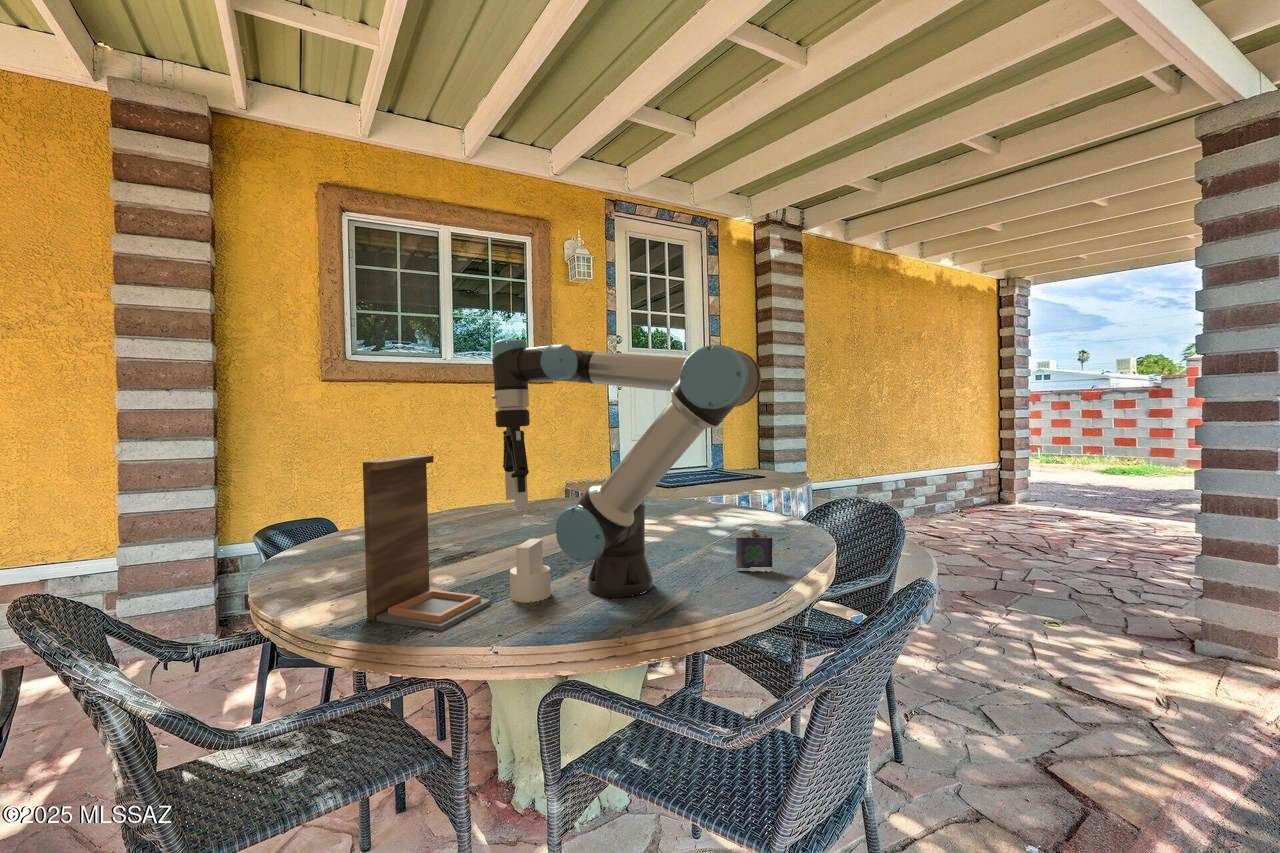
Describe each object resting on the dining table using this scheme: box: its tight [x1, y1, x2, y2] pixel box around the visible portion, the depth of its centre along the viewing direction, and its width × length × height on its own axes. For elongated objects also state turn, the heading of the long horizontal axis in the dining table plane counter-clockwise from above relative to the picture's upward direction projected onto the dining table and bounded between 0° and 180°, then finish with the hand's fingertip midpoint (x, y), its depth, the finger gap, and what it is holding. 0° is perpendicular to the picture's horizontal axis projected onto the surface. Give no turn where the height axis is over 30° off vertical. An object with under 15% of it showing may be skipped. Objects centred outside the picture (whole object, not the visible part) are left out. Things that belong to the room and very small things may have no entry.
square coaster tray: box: [376, 589, 492, 632], centre depth 123 cm, size 16×16×2 cm
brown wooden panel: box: [362, 454, 434, 621], centre depth 126 cm, size 4×16×32 cm, turn 159°
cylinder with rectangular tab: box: [509, 538, 552, 603], centre depth 134 cm, size 9×9×12 cm
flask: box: [735, 528, 773, 568], centre depth 151 cm, size 9×3×11 cm, turn 84°
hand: (516, 503), depth 134 cm, fingers open, 13 cm apart
